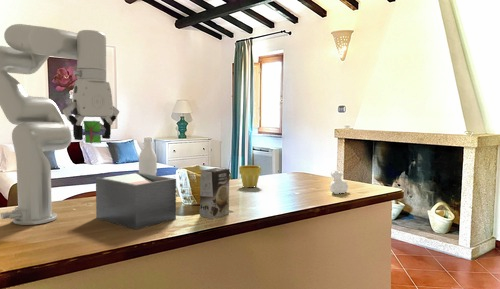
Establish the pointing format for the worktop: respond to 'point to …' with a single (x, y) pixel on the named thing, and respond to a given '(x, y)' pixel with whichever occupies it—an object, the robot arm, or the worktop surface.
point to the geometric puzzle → (93, 131)
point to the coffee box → (214, 193)
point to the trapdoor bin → (136, 201)
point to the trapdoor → (130, 179)
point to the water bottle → (147, 158)
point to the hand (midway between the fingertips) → (92, 138)
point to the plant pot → (249, 175)
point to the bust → (338, 183)
